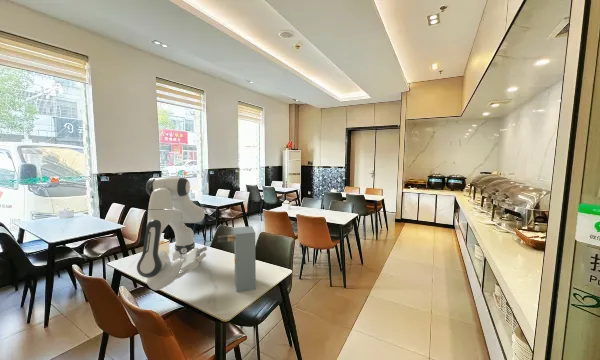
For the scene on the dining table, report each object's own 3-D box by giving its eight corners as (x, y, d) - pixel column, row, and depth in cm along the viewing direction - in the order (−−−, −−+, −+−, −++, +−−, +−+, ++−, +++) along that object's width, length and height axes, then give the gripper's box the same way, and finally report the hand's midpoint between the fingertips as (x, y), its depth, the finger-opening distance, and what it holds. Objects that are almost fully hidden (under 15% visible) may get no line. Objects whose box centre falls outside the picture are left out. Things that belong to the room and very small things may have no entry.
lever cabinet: (233, 280, 140) (233, 227, 138) (252, 278, 144) (251, 226, 141) (235, 292, 128) (234, 234, 126) (255, 289, 131) (255, 232, 129)
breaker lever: (217, 240, 131) (217, 235, 131) (247, 238, 136) (247, 233, 136) (217, 242, 128) (217, 237, 128) (248, 239, 133) (248, 234, 133)
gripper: (174, 270, 114) (201, 253, 117) (180, 254, 134) (203, 240, 137) (182, 280, 116) (208, 263, 119) (187, 263, 135) (209, 248, 138)
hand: (206, 250), depth 128 cm, fingers open, 8 cm apart
